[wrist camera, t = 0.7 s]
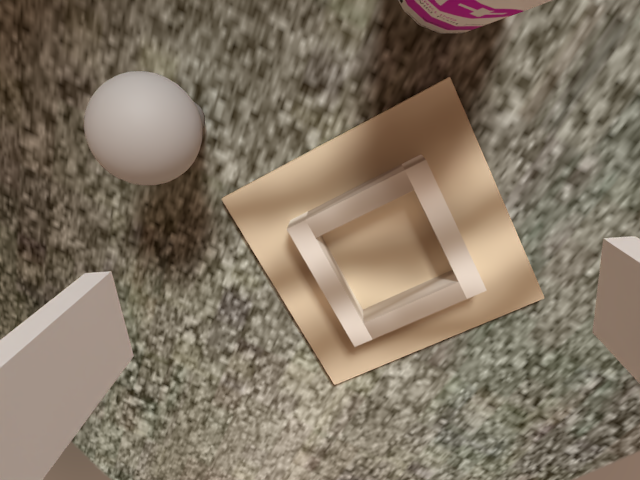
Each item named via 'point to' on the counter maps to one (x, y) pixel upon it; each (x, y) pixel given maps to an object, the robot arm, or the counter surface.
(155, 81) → the lightbulb
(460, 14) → the supplement can
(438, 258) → the socket base
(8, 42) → the counter surface
